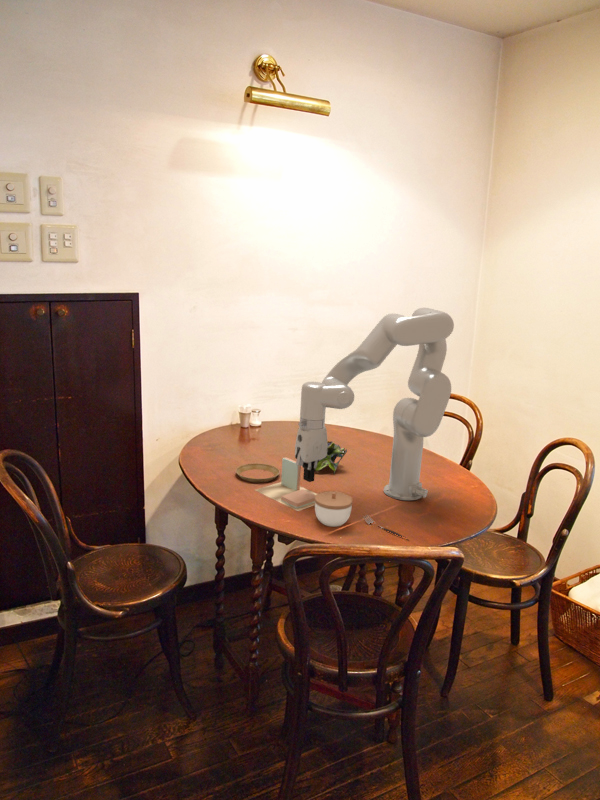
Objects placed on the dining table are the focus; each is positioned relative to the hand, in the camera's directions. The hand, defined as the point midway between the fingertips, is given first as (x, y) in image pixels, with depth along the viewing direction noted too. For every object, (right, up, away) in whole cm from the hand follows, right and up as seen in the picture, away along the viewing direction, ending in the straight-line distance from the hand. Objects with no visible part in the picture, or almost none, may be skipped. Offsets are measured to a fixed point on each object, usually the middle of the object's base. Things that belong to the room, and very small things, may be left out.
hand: (308, 480), depth 191 cm
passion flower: (+7, 0, +28) cm, 29 cm away
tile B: (-6, -3, +10) cm, 12 cm away
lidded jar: (+6, -11, -13) cm, 18 cm away
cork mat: (-5, -6, +4) cm, 9 cm away
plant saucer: (-17, -2, +18) cm, 25 cm away
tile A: (0, -5, +2) cm, 5 cm away
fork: (+22, -13, -16) cm, 30 cm away
